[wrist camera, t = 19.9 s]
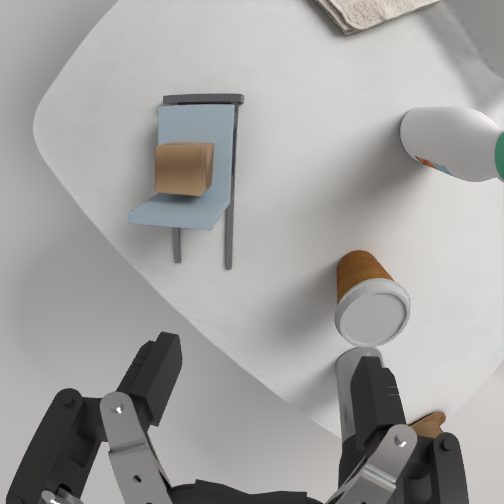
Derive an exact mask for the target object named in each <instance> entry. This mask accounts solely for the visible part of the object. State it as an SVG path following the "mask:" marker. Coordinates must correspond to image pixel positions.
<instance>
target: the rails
mask: <svg viewBox="0 0 504 504" xmlns="http://www.w3.org/2000/svg"><path fill="white" fill-rule="evenodd" d="M199 102H232V105H235V107H234V112H236V116H237V122H236V129H235V131H233V146H232V168H231V175H233V178H234V185H233V191H232V194H230V204H229V205H228V207H227V233H226V269H231V268H232V242H233V213H234V188H235V165H236V144H237V125H238V107H239V103H244V95H242V94H185V95H169V96H163V103H166V104H172V106H174V105H179V103H199ZM173 237H174V252H175V263H180V262H181V252H180V233H179V228H178V227H173Z"/></svg>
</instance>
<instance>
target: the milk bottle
mask: <svg viewBox="0 0 504 504" xmlns="http://www.w3.org/2000/svg"><path fill="white" fill-rule="evenodd" d="M400 137H401V141H402V144H403V147H404V149H405V150H406V152H407V153H408V154H409V155H410V156H411V157H412V158H413V159H415V160H416V161H418V162H421V163H423V164H425V165H428V166H430V167H432V168H435V169H437V170H440V171H442V172H444V173H447V174H449V175H451V176H454V177H456V178H459V179H462V180H465V181H470V182H481V181H486V180H489V179H491V178H496V177H498V179H499V180H501V181H502V182H504V128H503V129H500V128H499V127H498V126H496V125H495V124H494V123H493V122H492V121H491V120H490V119H489V118H488V117H487V116H485V115H484V114H482V113H480V112H478V111H476V110H473V109H469V108H463V107H444V106H439V107H418V108H414V109H412V110H410V111H409V112H408V113H407V114H406V115H405V116H404V118H403V120H402V123H401V127H400Z"/></svg>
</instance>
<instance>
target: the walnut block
mask: <svg viewBox="0 0 504 504" xmlns="http://www.w3.org/2000/svg"><path fill="white" fill-rule="evenodd" d="M213 157H214V143H198V142H171V143H166V144H162V145H158V146H156V148H155V192H157V193H170V194H182V195H194V196H200V195H201V194H202V193H204V192H205V191H206V190H207V189H208V188H209V187H210V186H211V185H212V176H213Z"/></svg>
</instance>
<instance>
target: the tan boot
mask: <svg viewBox="0 0 504 504" xmlns="http://www.w3.org/2000/svg"><path fill="white" fill-rule="evenodd" d="M445 420H446V416H445V414H444V413H442V412H435V413H433V414H431V415H429V416H427V417H425V418H423V419H422V420H420V421H418V422H416V423H415V424H413V425H411V426H410V427H411V428H412V429H413V430H414V431H415V433H416V434H417V435H420V436H425V437H431V438H436V437H437V436H438V435H439V434H441V433H444V432H443V431H442V430H441V428H440V425H441V424H442V423H444V421H445Z"/></svg>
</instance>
